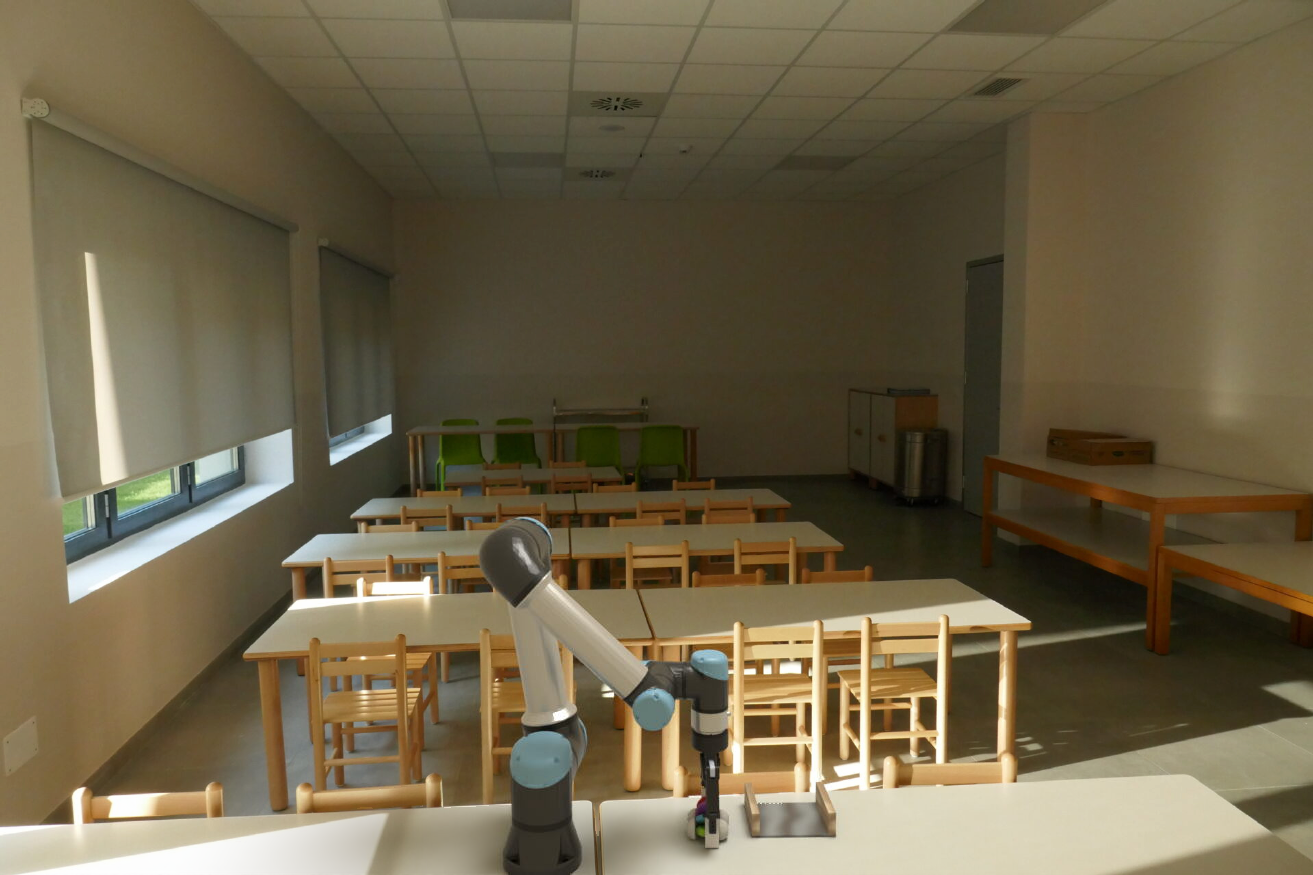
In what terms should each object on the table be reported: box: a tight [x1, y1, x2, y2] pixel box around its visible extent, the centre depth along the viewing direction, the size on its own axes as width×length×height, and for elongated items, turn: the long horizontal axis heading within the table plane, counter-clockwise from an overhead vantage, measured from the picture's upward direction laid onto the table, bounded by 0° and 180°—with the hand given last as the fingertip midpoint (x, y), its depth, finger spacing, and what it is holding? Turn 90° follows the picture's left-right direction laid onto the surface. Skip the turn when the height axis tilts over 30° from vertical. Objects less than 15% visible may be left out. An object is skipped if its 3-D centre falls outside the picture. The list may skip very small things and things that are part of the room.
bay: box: [743, 781, 837, 838], centre depth 196 cm, size 17×14×5 cm
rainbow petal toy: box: [686, 796, 730, 841], centre depth 191 cm, size 8×10×7 cm
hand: (709, 831), depth 191 cm, fingers open, 11 cm apart
